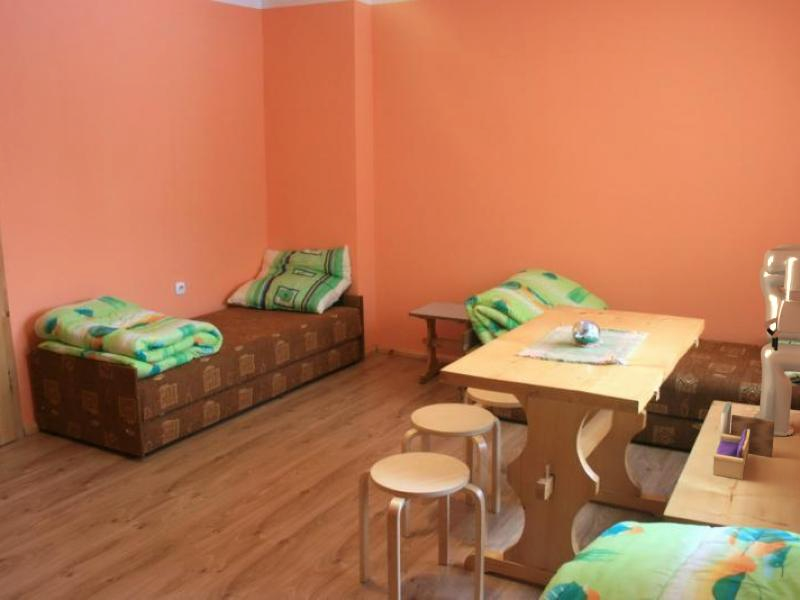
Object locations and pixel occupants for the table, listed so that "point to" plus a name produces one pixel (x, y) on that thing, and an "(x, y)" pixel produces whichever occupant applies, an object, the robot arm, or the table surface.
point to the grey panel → (726, 419)
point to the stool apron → (755, 433)
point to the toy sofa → (731, 455)
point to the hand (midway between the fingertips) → (793, 350)
